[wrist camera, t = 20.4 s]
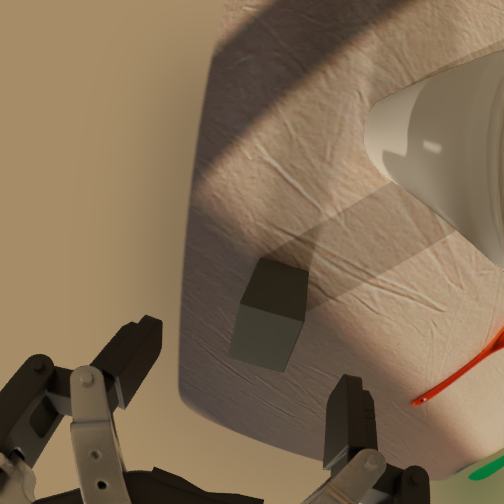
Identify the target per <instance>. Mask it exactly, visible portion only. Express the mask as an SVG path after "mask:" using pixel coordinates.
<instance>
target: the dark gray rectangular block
mask: <svg viewBox="0 0 504 504" xmlns="http://www.w3.org/2000/svg"><path fill="white" fill-rule="evenodd" d="M308 276H309V272H308V271H305V270H301V269H298V268H294V267H291V266H287V265H284V264H280V263H277V262H273V261H269V260H266V259H262V258H260V259H259V261H258V263H257V266H256V268H255V270H254V272H253V275H252V277H251V279H250V281H249V284H248V286H247V288H246V290H245V293H244V295H243V297H242V299H241V301H240V304H239V308H238V313H237V317H236V321H235V326H234V330H233V334H232V339H231V343H230V347H229V351H228V358H231V359H235V360H238V361H241V362H244V363H248V364H251V365H255V366H258V367H262V368H265V369H269V370H273V371H276V372H280V373H283V372H284V370H285V368H286V365H287V363H288V361H289V358H290V356H291V353H292V351H293V349H294V346H295V344H296V341H297V339H298V337H299V334H300V332H301V329H302V327H303V324H304V321H305V311H306V300H307V288H308Z"/></svg>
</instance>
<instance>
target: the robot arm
mask: <svg viewBox="0 0 504 504" xmlns="http://www.w3.org/2000/svg"><path fill="white" fill-rule="evenodd" d="M162 324H163V323H162V321H161V320H159V319H156V318H153V317H151V316H148V315H145V316H144V317H143V318H142V319H141V320H140V322H139V323H138V324H137V323H134V322H130V323H128V324H127V325H124V326H122V328H121V329H120V330H119V331H118V332H117V333H116V335H115V336H114V337H113V338H112V339H111V340H110V342H109V343H108V344H107V345H106V346H105V347H104V349H103V350H102V351H101V352H100V353H99V355H98V356H97V357H96V358H95V359H94V360H93V362H92V363H91V364H90V365H89V366H88V365H86V366H80V367H78V368H76V369H75V370H70V369H65V368H61V367H57V366H54V364H53V362H52V360H51V359H50V357H48V356H46V355H43V354H36V355H33V356H31V357H29V358H28V359H27V360H26V361H25V363H24V364H23V365H22V366H21V367H20V369H19V370H18V371H17V372H16V373H15V374H14V376H13V377H12V378H11V379H10V380H9V382H8V383H7V384H6V385H5V386H4V388H3V389H2V390H1V391H0V504H263V502H264V500H263V499H258V498H253V497H249V496H244V495H240V494H231V493H213V492H206V491H204V490H202V489H200V488H198V487H196V486H195V485H193V484H191V483H190V482H188V481H187V480H185V479H183V478H182V477H180V476H177V475H174V474H172V473H169V472H166V471H164V470H161V469H159V468H156V467H154V468H153V470H152V472H151V471H143V470H141V471H140V470H138V471H127V468H126V465H125V461H124V458H123V455H122V452H121V448H120V444H119V439H118V435H117V430H116V426H115V421H114V416H113V412H114V411H115V409H116V408H117V407H119V408H122V409H124V410H125V409H126V407H127V406H128V404H129V402H130V401H131V399H132V398H133V396H134V394H135V393H136V391H137V390H138V388H139V386H140V385H141V383H142V382H143V380H144V379H145V377H146V375H147V374H148V372H149V371H150V369H151V368H152V366H153V364H154V363H155V361H156V360H157V358H158V356H159V354H160V351H161V348H162V326H163V325H162ZM374 411H375V409H374V400H373V398H372V396H371V395H370V393H369V391H367V390H363V387H362V379H361V377H356V376H351V375H346V374H344V375H343V376H342V377H341V379H340V381H339V382H338V384H337V385H336V387H335V388H334V390H333V391H332V393H331V395H330V396H329V399H328V402H327V408H326V429H325V446H324V460H323V470H331V477H330V478H328V479H327V480H326V481H325V482H324V483H323V484H322V485H321V486H320V487H319V488H318V489H316V490H315V491H314V492H313V493H312V494H311V495H310V496H309V497H308V498H306V499H305V500H304V501H303V502H302V503H301V504H359V503H361V504H430V485H429V476H428V474H427V472H426V471H425V470H424V469H423V468H422V467H420V466H410V467H408V468H406V469H405V470H403V469H400V468H398V467H395V466H392V465H390V464H388V463H386V460H385V458H384V456H383V455H382V454H381V453H380V452H379V451H378V446H377V432H376V420H375V412H374ZM65 415H68V416H72V417H73V422H72V423H71V424H70V430H71V439H72V446H73V453H74V459H75V465H76V471H77V476H78V481H79V485H80V488H77V489H74V490H71V491H68V492H64V493H61V494H57V495H53V496H49V497H45V498H41V499H38V500H35V497H34V488H35V485H36V477H35V474H34V472H33V470H32V468H33V466H34V465H35V463H36V461H37V459H38V458H39V456H40V454H41V453H42V451H43V449H44V447H45V446H46V444H47V443H48V441H49V440H50V438H51V436H52V434H53V433H54V431H55V430H56V428H57V427H58V425H59V423H60V422H61V420H62V418H63V417H64V416H65Z"/></svg>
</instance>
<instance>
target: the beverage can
mask: <svg viewBox="0 0 504 504" xmlns="http://www.w3.org/2000/svg"><path fill="white" fill-rule="evenodd" d="M364 144H365V147H366V151H367V154H368V156H369V158H370V160H371V161H372V163H373V165H374V166H375V167H376V168H377V169H378V170H379V171H380V172H381V173H382V174H383V175H384V176H386V177H387V178H389V179H390V180H392V181H393V182H394V183H396V184H397V185H399V186H400V187H402V188H403V189H404V190H406V191H407V192H409V193H410V194H411V195H413V196H414V197H415V198H417V199H418V200H419V201H421V202H422V203H423V204H425V205H426V206H427V207H429V208H430V209H431V210H432V211H434V212H435V213H436V214H437V215H439V216H440V217H441V218H442V219H444V220H445V221H446V222H447V223H448V224H450V225H451V226H452V227H453V228H454V229H456V230H457V231H458V232H459V233H460V234H461V235H463V236H464V237H465V238H466V239H467V240H468V241H469V242H471V243H472V244H473V245H474V246H475V247H476V248H477V249H478V250H479V251H481V252H482V253H483V254H484V255H485V256H486V257H487V258H488V259H489V260H490V261H492V262H493V263H494V264H495V265H496V266H497V267H499V268H500V269H501V270H502V271H503V272H504V50H501V51H498V52H495V53H492V54H489V55H486V56H483V57H481V58H478V59H475V60H472V61H470V62H467V63H464V64H462V65H459V66H456V67H454V68H451V69H449V70H446V71H444V72H441V73H439V74H436V75H434V76H431V77H429V78H427V79H424V80H422V81H420V82H417V83H415V84H413V85H410V86H408V87H406V88H404V89H401V90H399V91H397V92H395V93H393V94H390V95H388V96H386V97H385V98H383V99H381V100H380V101H378V102H377V103H376V104H375V105H374V107H373V108H372V109H371V110H370V112H369V114H368V116H367V118H366V121H365V127H364Z"/></svg>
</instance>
